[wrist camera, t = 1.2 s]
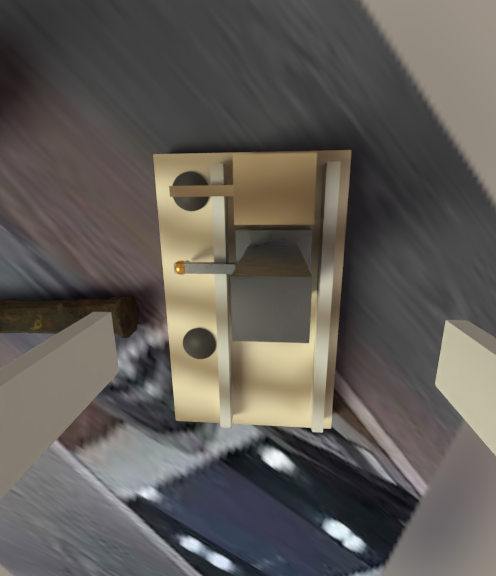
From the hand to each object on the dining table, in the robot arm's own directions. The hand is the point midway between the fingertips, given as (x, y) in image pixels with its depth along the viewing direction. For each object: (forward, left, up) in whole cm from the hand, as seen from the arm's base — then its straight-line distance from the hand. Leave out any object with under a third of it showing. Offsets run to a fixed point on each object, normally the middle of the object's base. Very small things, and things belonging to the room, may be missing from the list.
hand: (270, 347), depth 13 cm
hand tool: (+6, -23, -18) cm, 30 cm away
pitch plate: (+4, -2, -18) cm, 18 cm away
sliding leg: (0, -3, -16) cm, 16 cm away
